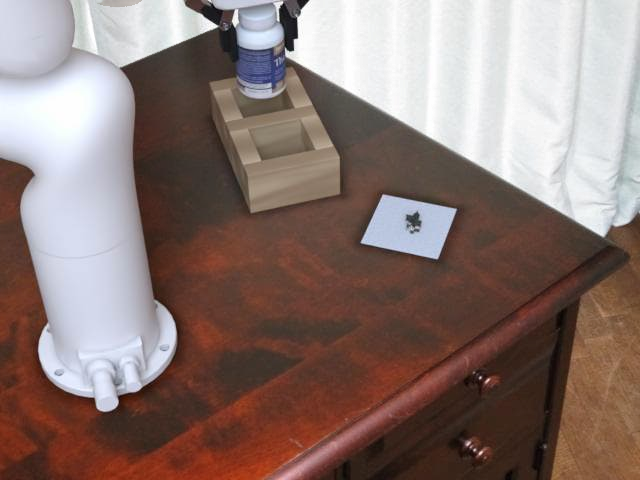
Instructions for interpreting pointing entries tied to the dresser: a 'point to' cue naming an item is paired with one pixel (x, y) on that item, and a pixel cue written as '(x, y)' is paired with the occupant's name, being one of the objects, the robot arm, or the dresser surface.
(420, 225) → the figurine
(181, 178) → the dresser surface
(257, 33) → the pill bottle
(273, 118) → the socket block
